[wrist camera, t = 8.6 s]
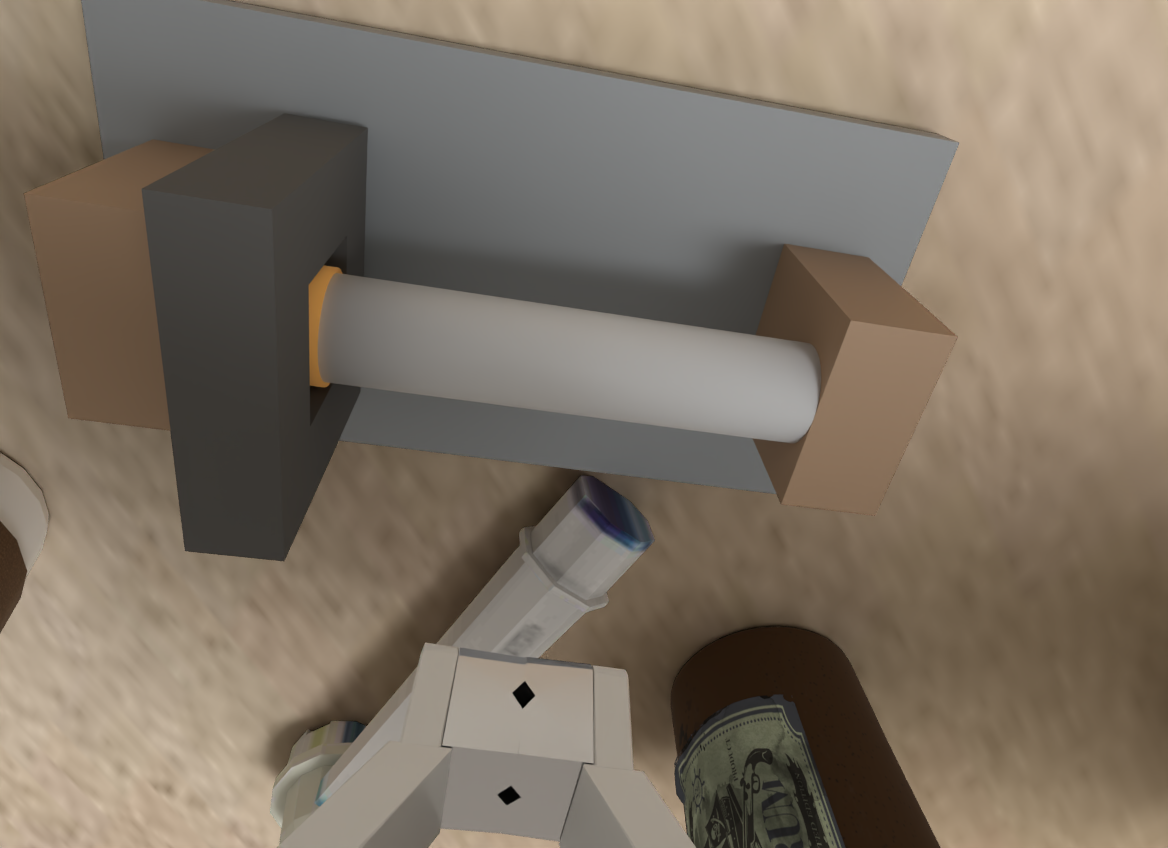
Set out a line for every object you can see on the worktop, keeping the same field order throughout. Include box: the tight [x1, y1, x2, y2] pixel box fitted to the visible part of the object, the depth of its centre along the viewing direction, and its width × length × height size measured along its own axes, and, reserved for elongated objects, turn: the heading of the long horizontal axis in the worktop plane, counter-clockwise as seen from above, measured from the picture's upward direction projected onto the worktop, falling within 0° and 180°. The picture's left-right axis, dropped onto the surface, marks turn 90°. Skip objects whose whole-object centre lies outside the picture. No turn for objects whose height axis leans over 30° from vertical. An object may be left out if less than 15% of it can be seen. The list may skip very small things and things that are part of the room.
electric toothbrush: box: [270, 476, 655, 845], centre depth 35 cm, size 5×7×25 cm
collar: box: [141, 113, 368, 561], centre depth 21 cm, size 2×9×9 cm, turn 170°
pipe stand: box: [24, 0, 959, 516], centre depth 23 cm, size 26×14×8 cm, turn 80°
